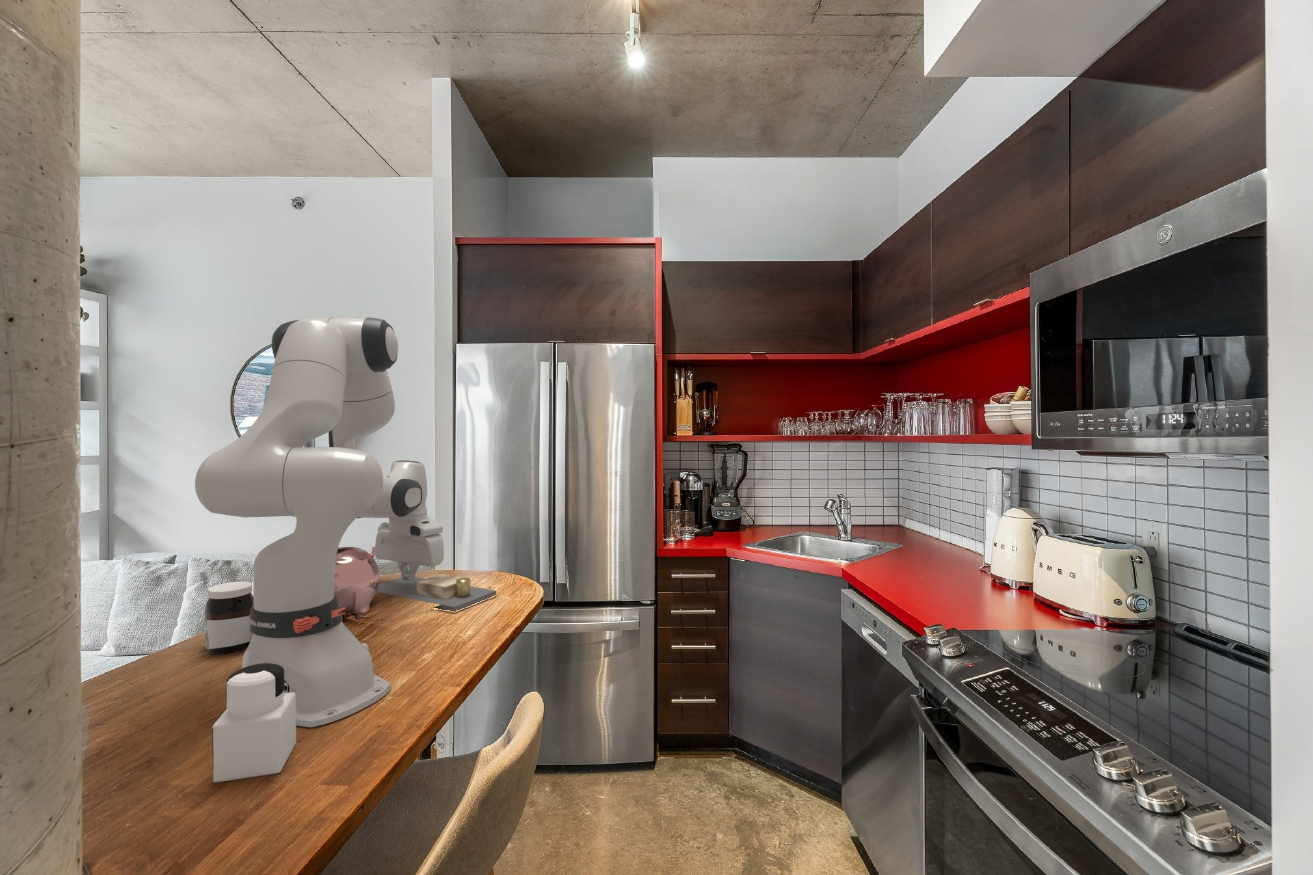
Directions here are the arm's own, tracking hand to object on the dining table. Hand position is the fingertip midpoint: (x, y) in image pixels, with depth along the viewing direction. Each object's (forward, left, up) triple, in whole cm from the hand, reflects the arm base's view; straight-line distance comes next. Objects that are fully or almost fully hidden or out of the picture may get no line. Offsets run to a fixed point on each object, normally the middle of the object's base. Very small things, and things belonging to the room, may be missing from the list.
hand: (408, 579), depth 147 cm
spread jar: (0, +39, -3) cm, 39 cm away
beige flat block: (-12, 0, -2) cm, 12 cm away
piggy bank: (0, +20, -3) cm, 20 cm away
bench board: (-7, 0, -3) cm, 7 cm away
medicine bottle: (-41, +61, -3) cm, 73 cm away
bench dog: (-18, 0, -2) cm, 18 cm away
